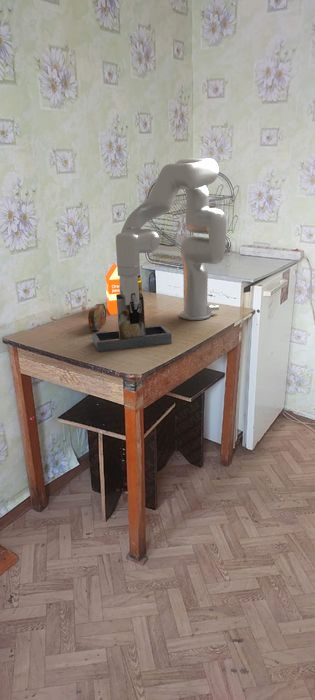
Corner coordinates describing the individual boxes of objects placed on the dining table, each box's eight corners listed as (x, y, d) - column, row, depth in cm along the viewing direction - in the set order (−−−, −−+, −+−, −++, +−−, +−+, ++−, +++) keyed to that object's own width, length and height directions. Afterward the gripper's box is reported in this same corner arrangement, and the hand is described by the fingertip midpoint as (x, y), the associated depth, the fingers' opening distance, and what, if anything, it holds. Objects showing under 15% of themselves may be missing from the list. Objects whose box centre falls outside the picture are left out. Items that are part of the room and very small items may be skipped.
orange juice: (110, 314, 215) (107, 266, 208) (107, 308, 223) (104, 262, 216) (128, 312, 217) (126, 265, 210) (125, 307, 225) (122, 261, 218)
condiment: (133, 303, 230) (132, 277, 226) (123, 299, 237) (121, 273, 232) (146, 300, 234) (145, 274, 230) (136, 297, 241) (135, 271, 236)
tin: (95, 333, 193) (94, 311, 190) (87, 333, 193) (86, 311, 190) (107, 321, 206) (106, 301, 203) (100, 321, 207) (98, 300, 204)
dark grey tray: (162, 334, 190) (162, 324, 189) (171, 343, 181) (171, 333, 179) (92, 342, 183) (91, 333, 182) (97, 352, 174) (97, 342, 173)
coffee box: (144, 336, 185) (142, 292, 180) (146, 342, 179) (144, 297, 174) (118, 337, 184) (116, 293, 179) (119, 343, 178) (117, 298, 173)
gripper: (112, 266, 180) (115, 313, 186) (123, 277, 164) (126, 328, 170) (133, 264, 182) (135, 311, 188) (146, 274, 166) (148, 325, 172)
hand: (131, 319), depth 179 cm, fingers open, 9 cm apart
